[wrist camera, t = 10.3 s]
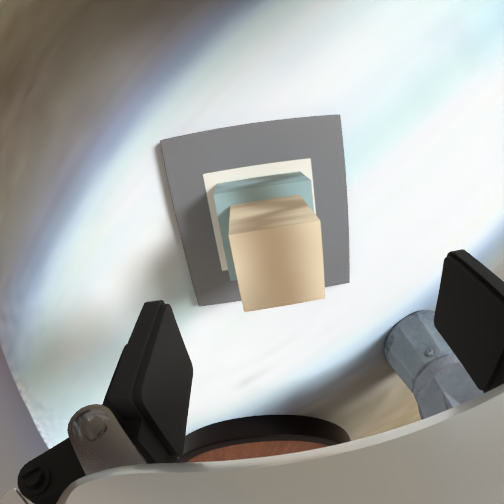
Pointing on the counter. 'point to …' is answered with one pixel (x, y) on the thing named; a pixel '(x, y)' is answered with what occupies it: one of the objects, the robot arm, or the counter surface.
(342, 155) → the build board
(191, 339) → the counter surface
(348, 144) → the counter surface
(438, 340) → the moka pot
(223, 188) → the teal base block
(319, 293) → the maple block
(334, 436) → the round serving tray
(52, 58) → the counter surface
